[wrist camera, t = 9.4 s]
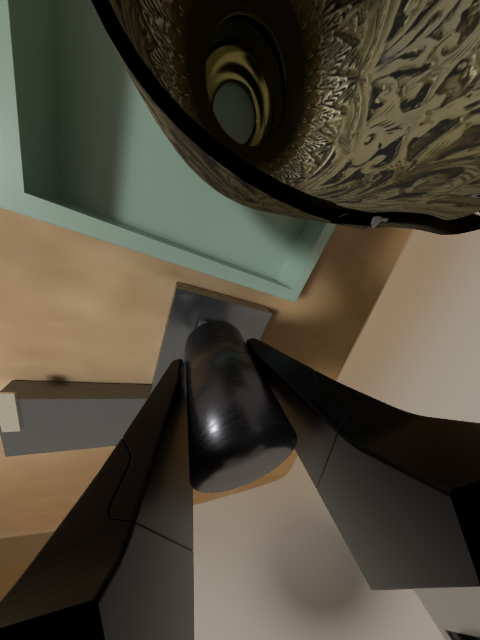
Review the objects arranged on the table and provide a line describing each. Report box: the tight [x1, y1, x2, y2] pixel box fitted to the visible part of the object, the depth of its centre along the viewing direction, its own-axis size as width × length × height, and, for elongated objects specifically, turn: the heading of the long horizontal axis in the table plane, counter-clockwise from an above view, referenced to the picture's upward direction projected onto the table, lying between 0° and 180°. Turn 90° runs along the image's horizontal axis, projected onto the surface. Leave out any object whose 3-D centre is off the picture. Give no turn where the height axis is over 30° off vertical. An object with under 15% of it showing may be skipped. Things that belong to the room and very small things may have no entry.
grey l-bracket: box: [0, 282, 272, 457], centre depth 11 cm, size 13×13×1 cm
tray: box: [0, 0, 337, 302], centre depth 6 cm, size 11×11×2 cm
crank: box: [185, 321, 297, 493], centre depth 8 cm, size 10×3×6 cm, turn 159°
